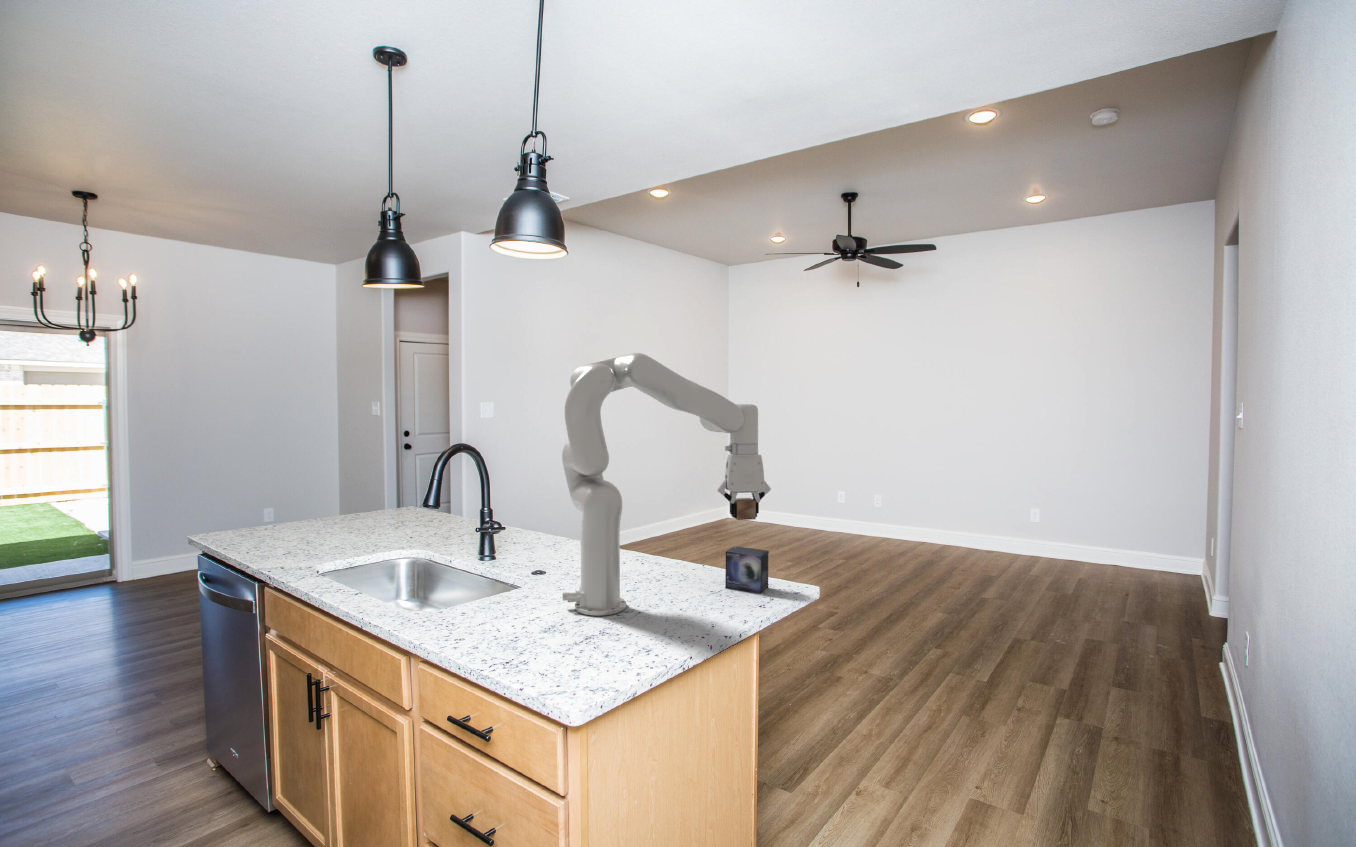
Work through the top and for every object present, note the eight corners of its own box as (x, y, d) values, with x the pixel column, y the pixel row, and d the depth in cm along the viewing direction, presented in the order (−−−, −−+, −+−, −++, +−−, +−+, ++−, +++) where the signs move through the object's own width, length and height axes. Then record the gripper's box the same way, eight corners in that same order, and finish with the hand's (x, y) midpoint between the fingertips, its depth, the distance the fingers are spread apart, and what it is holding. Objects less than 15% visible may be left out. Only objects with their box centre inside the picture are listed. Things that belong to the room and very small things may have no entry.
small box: (723, 588, 178) (724, 550, 177) (733, 582, 183) (733, 545, 183) (760, 594, 173) (760, 555, 172) (769, 587, 178) (769, 549, 178)
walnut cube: (737, 520, 175) (737, 501, 175) (732, 516, 180) (732, 498, 179) (755, 519, 176) (755, 500, 175) (750, 515, 181) (750, 497, 180)
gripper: (716, 451, 172) (716, 520, 172) (778, 450, 175) (778, 518, 175) (710, 449, 179) (710, 515, 180) (769, 448, 182) (769, 513, 183)
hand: (744, 516), depth 178 cm, fingers closed on walnut cube, 5 cm apart
